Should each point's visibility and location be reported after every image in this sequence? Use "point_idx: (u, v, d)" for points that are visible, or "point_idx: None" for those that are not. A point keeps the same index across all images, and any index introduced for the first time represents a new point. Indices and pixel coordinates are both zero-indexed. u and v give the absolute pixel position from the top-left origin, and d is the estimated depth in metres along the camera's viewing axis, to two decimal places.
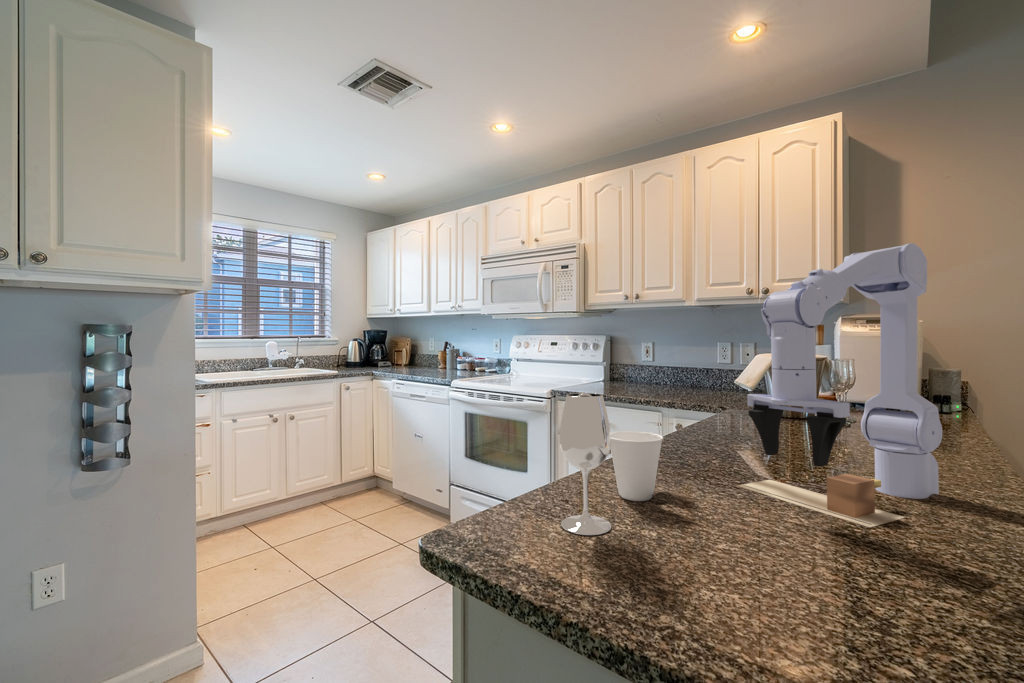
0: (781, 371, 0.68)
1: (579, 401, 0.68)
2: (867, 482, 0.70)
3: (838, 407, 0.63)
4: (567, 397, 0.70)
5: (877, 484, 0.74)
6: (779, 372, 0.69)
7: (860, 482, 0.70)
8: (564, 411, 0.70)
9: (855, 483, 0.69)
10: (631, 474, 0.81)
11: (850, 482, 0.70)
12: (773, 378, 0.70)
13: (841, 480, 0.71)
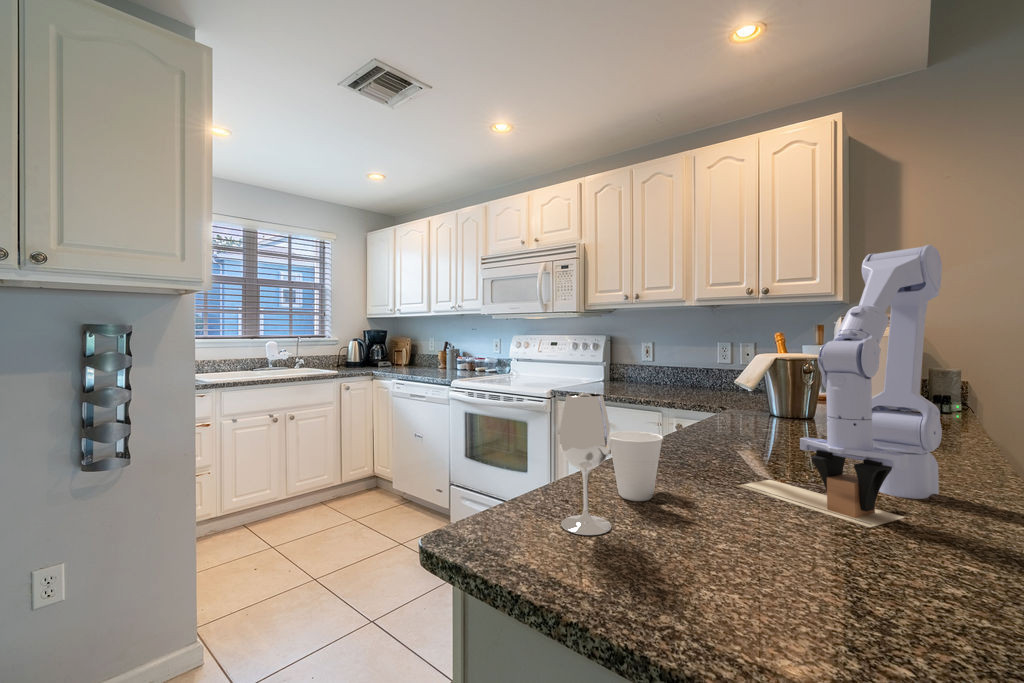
0: (838, 420, 0.71)
1: (579, 401, 0.68)
2: None
3: (898, 459, 0.65)
4: (567, 397, 0.70)
5: None
6: (836, 421, 0.71)
7: None
8: (564, 411, 0.70)
9: (855, 483, 0.69)
10: (631, 474, 0.81)
11: (850, 482, 0.70)
12: (829, 426, 0.72)
13: (841, 480, 0.71)
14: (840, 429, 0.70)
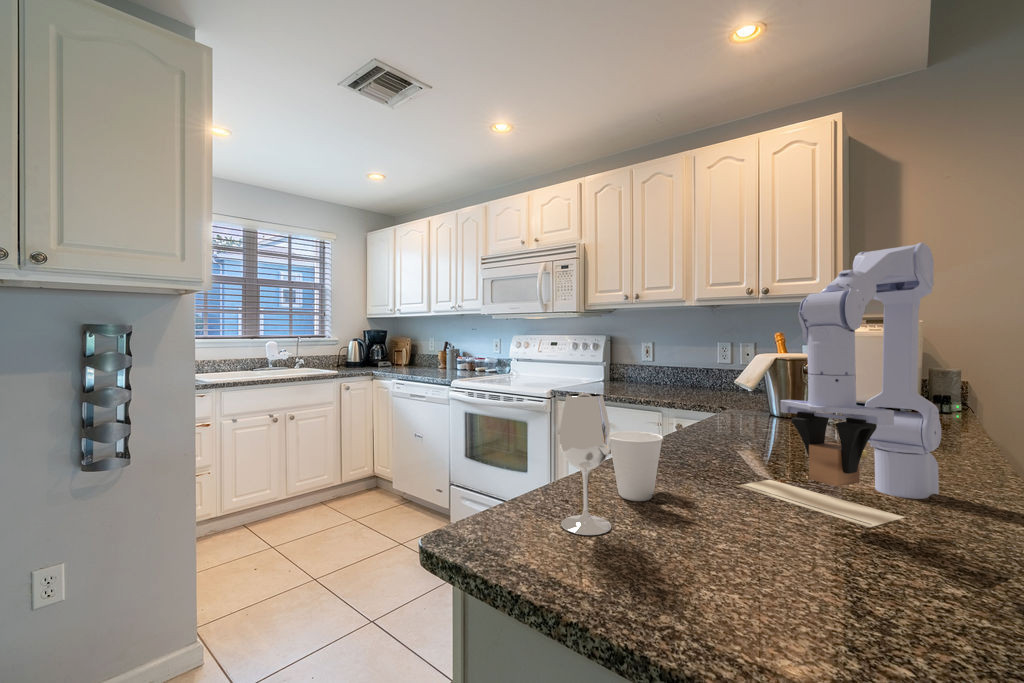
0: (819, 377, 0.66)
1: (579, 401, 0.68)
2: None
3: (882, 415, 0.60)
4: (567, 397, 0.70)
5: (863, 454, 0.69)
6: (817, 378, 0.66)
7: None
8: (564, 411, 0.70)
9: (838, 449, 0.65)
10: (631, 474, 0.81)
11: (833, 448, 0.65)
12: (810, 384, 0.68)
13: (824, 447, 0.66)
14: (821, 386, 0.66)
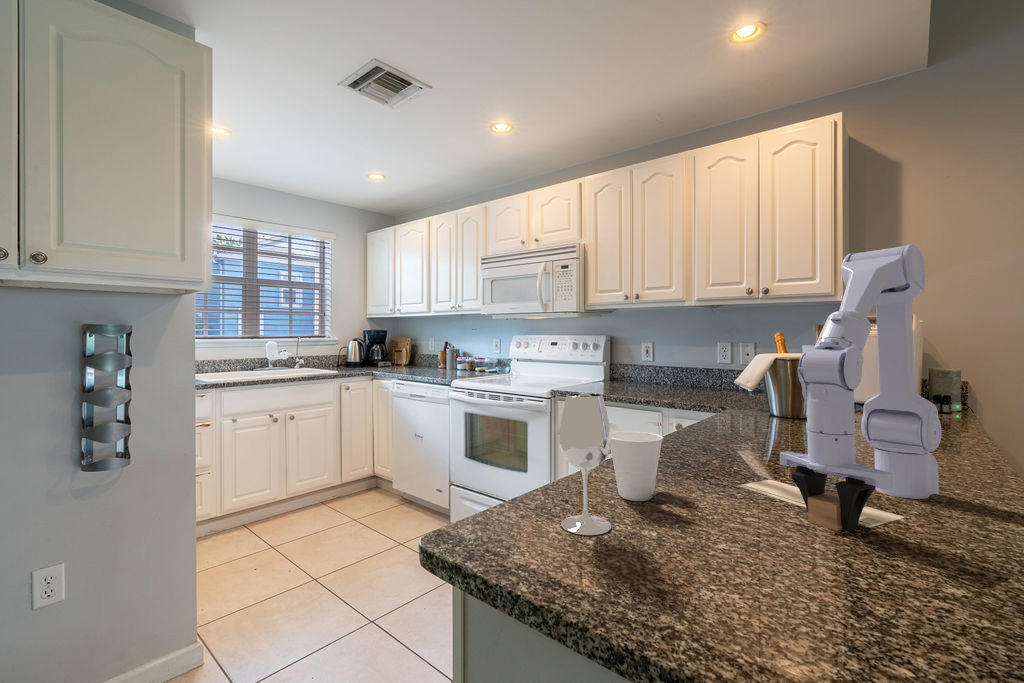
0: (818, 435, 0.66)
1: (579, 401, 0.68)
2: None
3: (881, 478, 0.60)
4: (567, 397, 0.70)
5: None
6: (816, 436, 0.66)
7: None
8: (564, 411, 0.70)
9: (837, 504, 0.65)
10: (631, 474, 0.81)
11: (832, 503, 0.65)
12: (809, 440, 0.68)
13: (823, 500, 0.66)
14: (821, 444, 0.66)
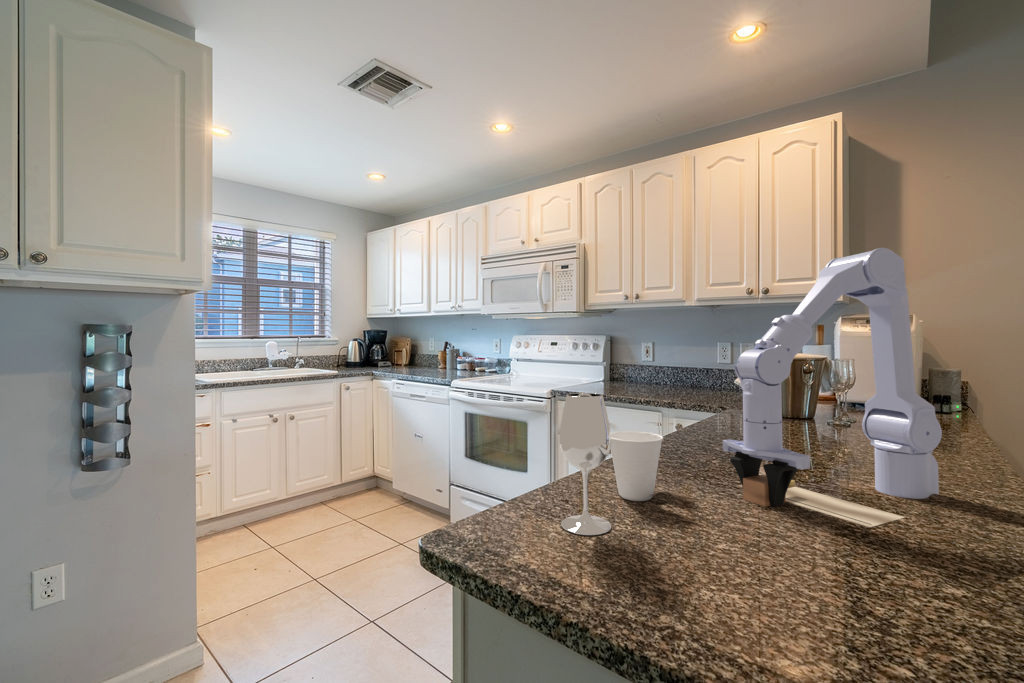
0: (751, 424, 0.76)
1: (579, 401, 0.68)
2: None
3: (799, 460, 0.70)
4: (567, 397, 0.70)
5: (791, 484, 0.79)
6: (749, 424, 0.76)
7: None
8: (564, 411, 0.70)
9: (766, 483, 0.75)
10: (631, 474, 0.81)
11: (761, 482, 0.75)
12: (744, 429, 0.78)
13: (754, 480, 0.76)
14: (752, 432, 0.76)
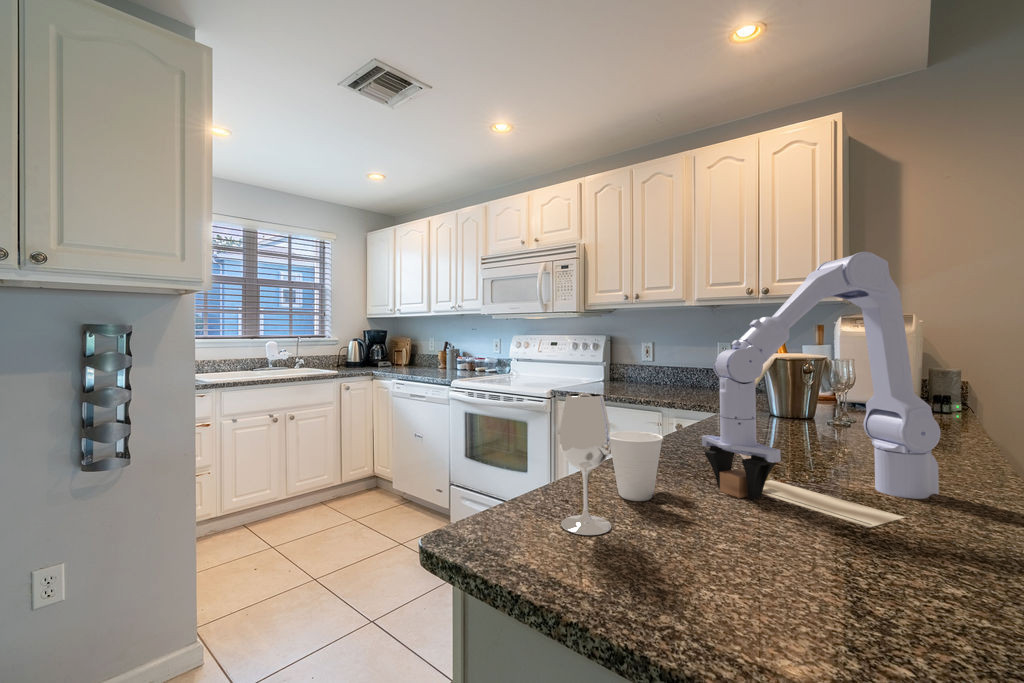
0: (726, 420, 0.80)
1: (579, 401, 0.68)
2: None
3: (770, 454, 0.75)
4: (567, 397, 0.70)
5: None
6: (725, 420, 0.81)
7: (745, 476, 0.80)
8: (564, 411, 0.70)
9: (740, 476, 0.79)
10: (631, 474, 0.81)
11: (736, 476, 0.80)
12: (721, 425, 0.82)
13: (730, 474, 0.81)
14: (728, 427, 0.80)
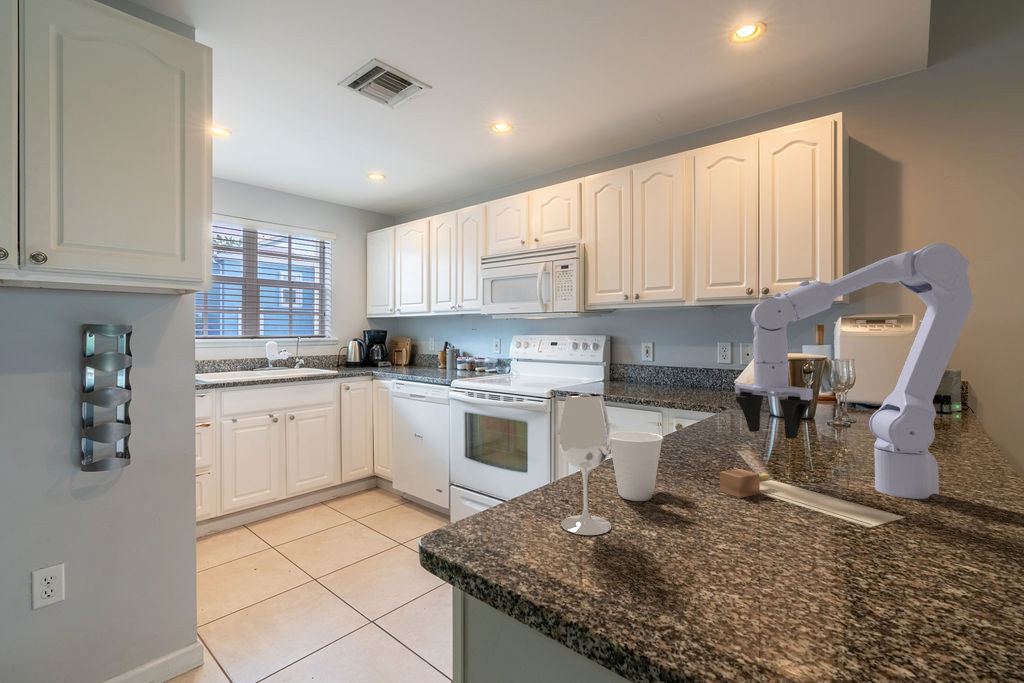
0: (761, 364, 0.87)
1: (579, 401, 0.68)
2: (752, 476, 0.80)
3: (803, 392, 0.81)
4: (567, 397, 0.70)
5: (766, 478, 0.83)
6: (759, 365, 0.87)
7: (745, 476, 0.80)
8: (564, 411, 0.70)
9: (740, 476, 0.79)
10: (631, 474, 0.81)
11: (736, 476, 0.80)
12: (755, 370, 0.89)
13: (730, 474, 0.81)
14: (762, 371, 0.87)
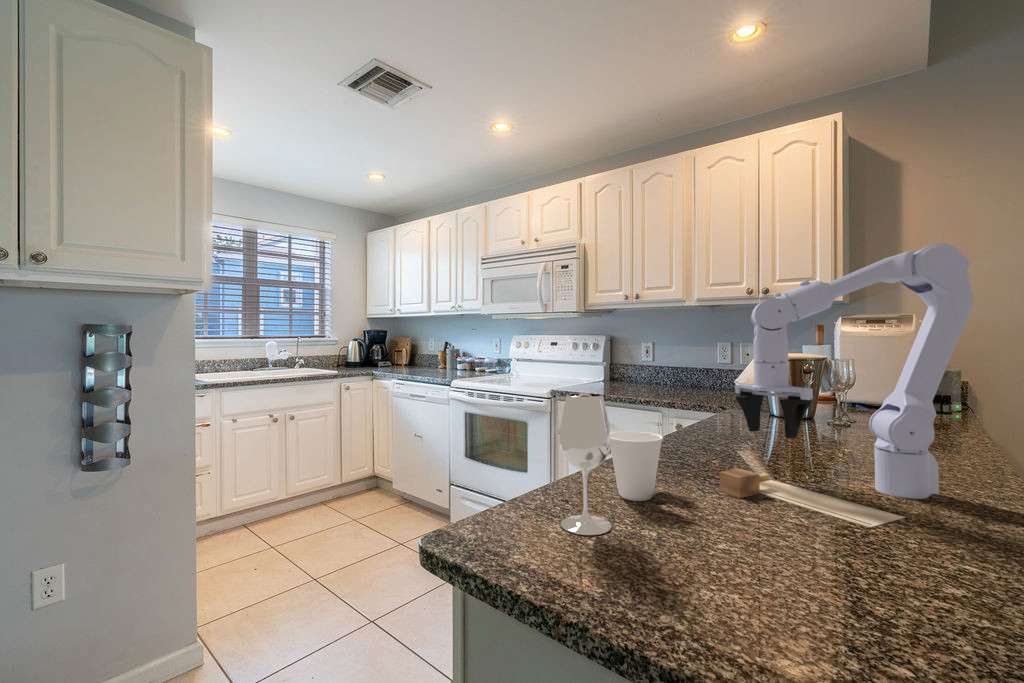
0: (761, 364, 0.87)
1: (579, 401, 0.68)
2: (752, 476, 0.80)
3: (803, 391, 0.81)
4: (567, 397, 0.70)
5: (765, 478, 0.83)
6: (759, 365, 0.87)
7: (745, 476, 0.80)
8: (564, 411, 0.70)
9: (740, 476, 0.79)
10: (631, 474, 0.81)
11: (736, 476, 0.80)
12: (755, 370, 0.89)
13: (730, 474, 0.81)
14: (762, 371, 0.87)
